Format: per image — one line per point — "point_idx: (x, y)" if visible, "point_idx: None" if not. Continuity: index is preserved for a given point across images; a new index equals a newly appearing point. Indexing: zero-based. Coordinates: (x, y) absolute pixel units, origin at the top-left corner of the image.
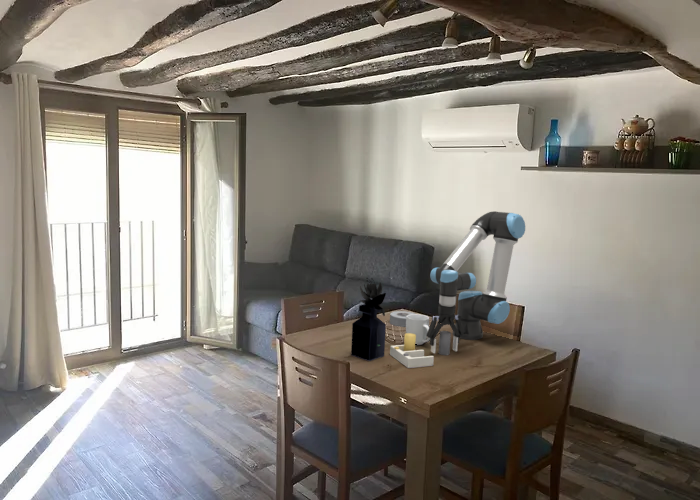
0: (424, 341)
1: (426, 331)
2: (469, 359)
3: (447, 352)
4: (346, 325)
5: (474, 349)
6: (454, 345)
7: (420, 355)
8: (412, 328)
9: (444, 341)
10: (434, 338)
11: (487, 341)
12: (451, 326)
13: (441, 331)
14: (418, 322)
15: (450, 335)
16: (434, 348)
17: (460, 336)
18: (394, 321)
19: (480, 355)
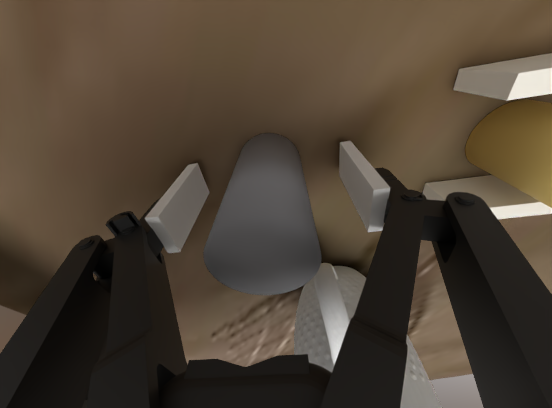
0: (333, 267)
1: (322, 323)
2: (118, 21)
3: (259, 139)
4: (436, 372)
5: (89, 205)
6: (194, 195)
7: (515, 65)
8: (410, 345)
9: (286, 176)
10: (396, 194)
11: (39, 277)
12: (171, 333)
13: (290, 283)
14: (407, 392)
15: (218, 218)
16: (358, 152)
17: (115, 219)
18: None
19: (41, 108)
